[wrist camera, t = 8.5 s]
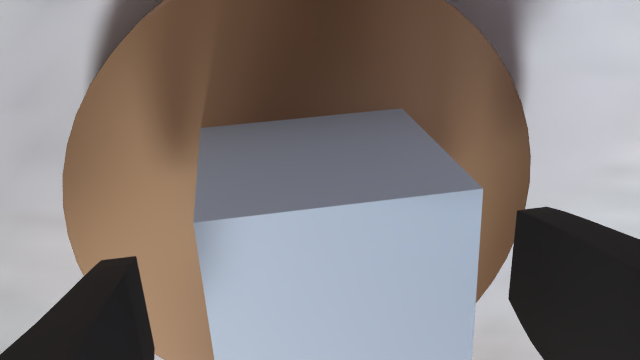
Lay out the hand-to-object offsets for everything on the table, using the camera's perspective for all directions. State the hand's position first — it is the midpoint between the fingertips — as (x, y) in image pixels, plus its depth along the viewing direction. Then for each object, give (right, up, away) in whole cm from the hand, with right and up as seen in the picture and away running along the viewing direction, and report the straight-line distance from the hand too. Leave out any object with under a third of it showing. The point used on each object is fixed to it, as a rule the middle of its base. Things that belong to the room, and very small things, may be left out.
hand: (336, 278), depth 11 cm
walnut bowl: (-1, +2, +5) cm, 5 cm away
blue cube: (-1, +1, +3) cm, 3 cm away
